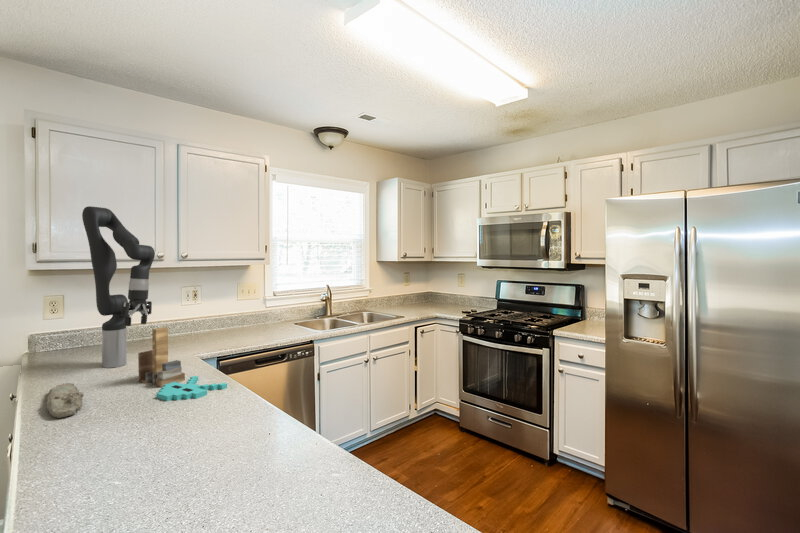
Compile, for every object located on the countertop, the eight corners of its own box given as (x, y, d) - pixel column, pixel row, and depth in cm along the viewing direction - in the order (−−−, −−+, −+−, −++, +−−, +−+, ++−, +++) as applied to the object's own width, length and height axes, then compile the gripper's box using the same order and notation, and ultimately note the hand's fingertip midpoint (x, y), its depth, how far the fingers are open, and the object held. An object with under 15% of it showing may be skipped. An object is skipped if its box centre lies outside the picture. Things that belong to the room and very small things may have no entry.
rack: (138, 381, 164) (138, 353, 163) (162, 374, 173) (161, 347, 172) (153, 385, 160) (152, 355, 159) (176, 378, 169) (176, 350, 168)
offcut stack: (155, 385, 159) (155, 365, 158) (179, 378, 168) (179, 359, 168) (161, 387, 157) (161, 366, 157) (185, 380, 166) (185, 360, 166)
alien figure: (194, 380, 167) (146, 395, 149) (194, 375, 167) (145, 390, 149) (227, 389, 158) (178, 406, 140) (227, 383, 158) (178, 399, 140)
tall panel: (152, 381, 164) (152, 329, 163) (164, 378, 168) (164, 327, 167) (156, 382, 163) (156, 329, 162) (168, 379, 167) (167, 327, 166)
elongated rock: (79, 390, 157) (46, 398, 150) (78, 377, 157) (44, 384, 150) (87, 413, 131) (46, 423, 124) (85, 397, 131) (45, 406, 124)
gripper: (143, 288, 186) (141, 323, 185) (117, 288, 172) (114, 326, 171) (158, 289, 185) (155, 324, 184) (133, 289, 170) (130, 327, 170)
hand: (135, 324), depth 177 cm, fingers open, 8 cm apart
